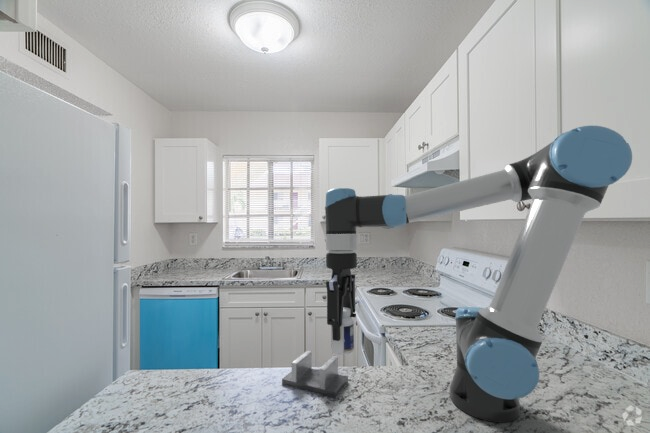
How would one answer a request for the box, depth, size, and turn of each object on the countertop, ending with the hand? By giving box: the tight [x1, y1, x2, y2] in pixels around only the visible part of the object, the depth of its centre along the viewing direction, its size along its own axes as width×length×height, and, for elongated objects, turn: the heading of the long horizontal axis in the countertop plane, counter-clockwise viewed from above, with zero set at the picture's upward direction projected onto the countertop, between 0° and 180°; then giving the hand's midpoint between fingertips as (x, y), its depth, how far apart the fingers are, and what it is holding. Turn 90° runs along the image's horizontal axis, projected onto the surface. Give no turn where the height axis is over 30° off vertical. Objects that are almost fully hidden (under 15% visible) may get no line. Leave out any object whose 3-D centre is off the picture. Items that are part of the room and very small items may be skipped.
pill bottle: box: [330, 307, 355, 355], centre depth 70 cm, size 5×5×10 cm
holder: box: [281, 350, 349, 399], centre depth 81 cm, size 16×9×6 cm, turn 65°
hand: (342, 348), depth 70 cm, fingers closed on pill bottle, 5 cm apart
